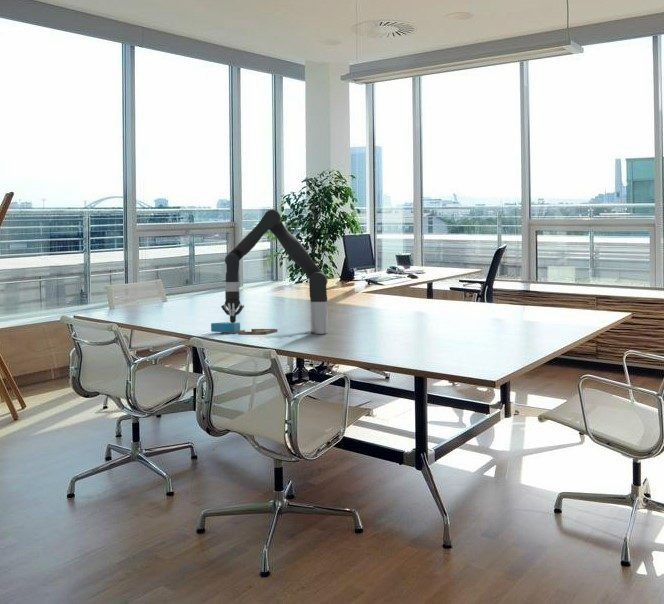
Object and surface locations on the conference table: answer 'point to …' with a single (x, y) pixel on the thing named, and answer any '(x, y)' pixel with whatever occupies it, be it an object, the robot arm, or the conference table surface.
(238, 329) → the data package
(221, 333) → the rubber mat
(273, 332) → the brown wooden frame
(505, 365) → the conference table surface
